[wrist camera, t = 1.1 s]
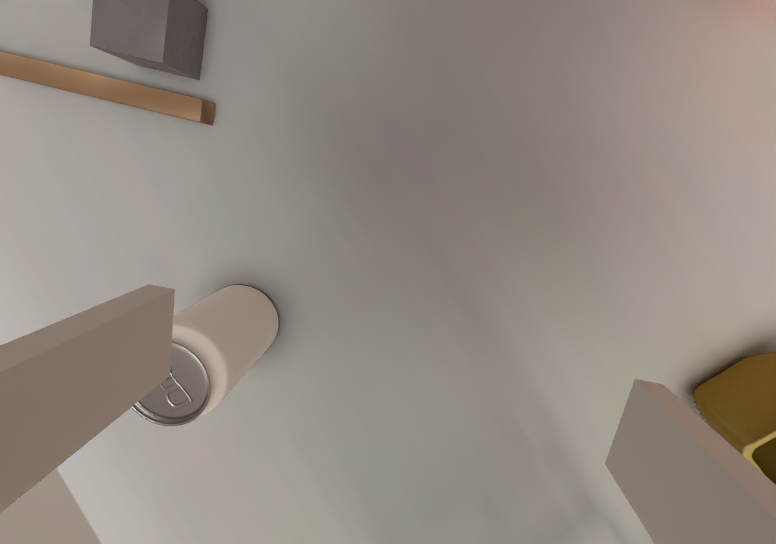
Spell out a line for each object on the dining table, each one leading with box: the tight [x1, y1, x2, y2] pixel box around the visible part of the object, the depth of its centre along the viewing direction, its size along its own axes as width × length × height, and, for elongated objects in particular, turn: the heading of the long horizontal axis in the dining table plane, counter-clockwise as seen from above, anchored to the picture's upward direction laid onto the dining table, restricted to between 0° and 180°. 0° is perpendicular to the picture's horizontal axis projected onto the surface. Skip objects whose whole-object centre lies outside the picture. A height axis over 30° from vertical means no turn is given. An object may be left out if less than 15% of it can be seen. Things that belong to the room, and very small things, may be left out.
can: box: [132, 285, 279, 426], centre depth 31 cm, size 6×6×12 cm
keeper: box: [90, 0, 208, 80], centre depth 30 cm, size 5×5×5 cm
